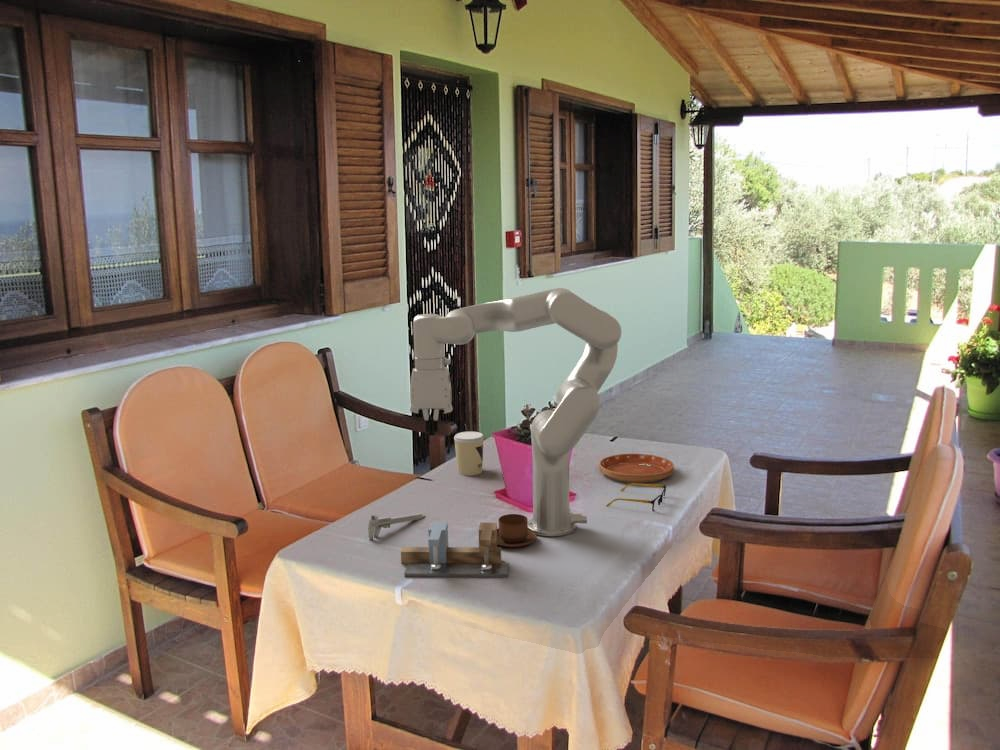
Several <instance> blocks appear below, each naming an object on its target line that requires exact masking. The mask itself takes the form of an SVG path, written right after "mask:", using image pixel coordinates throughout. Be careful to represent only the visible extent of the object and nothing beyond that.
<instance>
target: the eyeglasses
mask: <svg viewBox="0 0 1000 750" xmlns="http://www.w3.org/2000/svg"><path fill="white" fill-rule="evenodd" d="M629 486H644V487H652V488H662V489H663V490H662V492H661V494H659V495H658V496H657V497H655V498H654V499H652V500H650V499H649V500H648V499H635V498H634V499H633V498H620V497H619V498H615V499H613V500H611V501H610V502H609V503H607V504H606V505H605V507H607V508H608V507H610V506H611V505H612V504H613V503H614V502H616V501H627V502H636V503H637V502H638V503H643V504H651V505H652V506H651V507H652V508H651V509H652V512H655V511H654V510H655V508H654V507H655V503H656V500H657V499H658V500H657V503H658V504H657V506H658V505H661V502H662V503H663V496H666V490H667V485H665V484H653V483H651V484H650V483H628V484H627V485H626V486H624V487H622V488H621V489H620V492H624V491H625V490H626V489H627V488H628V487H629Z"/></svg>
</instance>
